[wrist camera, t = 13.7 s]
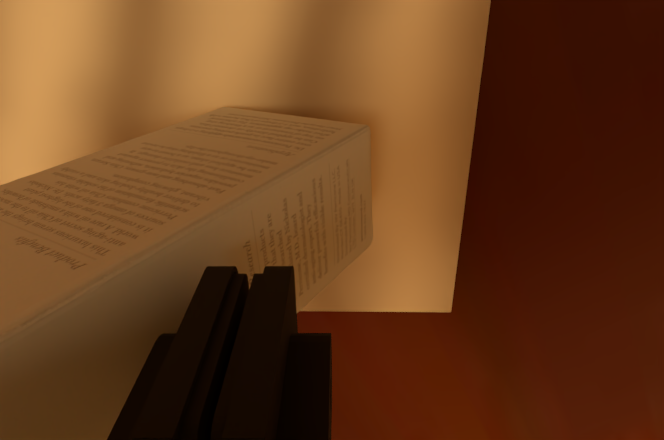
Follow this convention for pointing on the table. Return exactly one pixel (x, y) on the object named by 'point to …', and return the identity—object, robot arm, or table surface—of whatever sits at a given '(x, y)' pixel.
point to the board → (268, 103)
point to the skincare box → (161, 250)
